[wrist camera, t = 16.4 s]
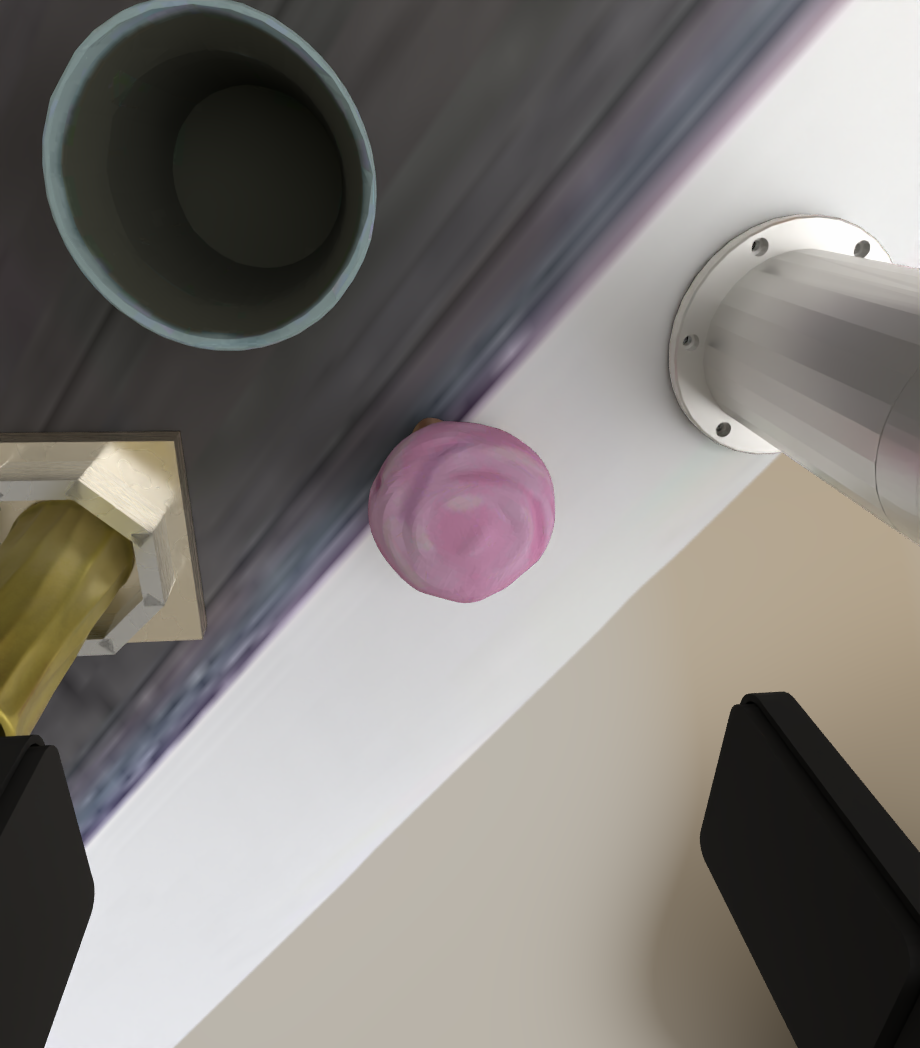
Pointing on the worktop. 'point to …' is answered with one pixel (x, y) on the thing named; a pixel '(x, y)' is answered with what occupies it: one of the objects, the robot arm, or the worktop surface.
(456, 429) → the cupcake
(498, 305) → the worktop surface
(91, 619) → the vase
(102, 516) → the ring stand
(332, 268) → the blue-green cup
